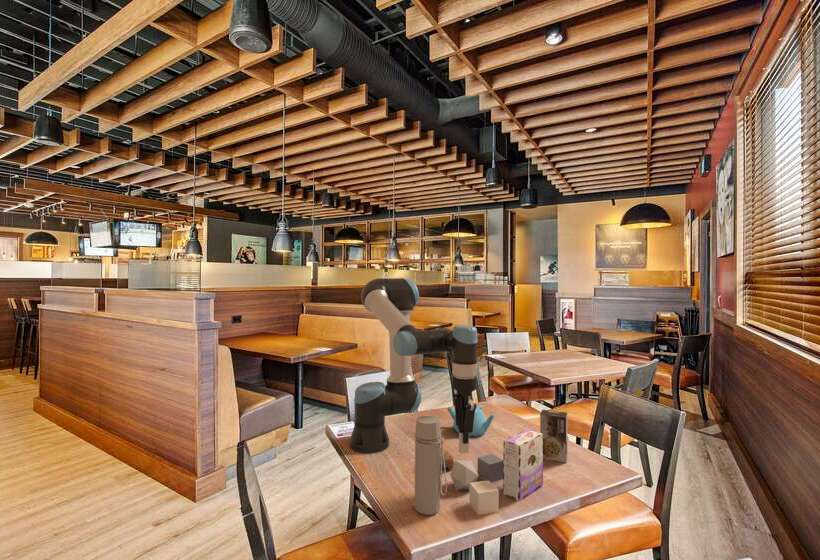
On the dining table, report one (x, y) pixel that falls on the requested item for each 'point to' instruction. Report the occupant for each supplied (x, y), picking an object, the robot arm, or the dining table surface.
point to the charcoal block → (490, 468)
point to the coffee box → (554, 435)
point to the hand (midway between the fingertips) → (463, 452)
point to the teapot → (475, 421)
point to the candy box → (522, 464)
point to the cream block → (484, 497)
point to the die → (463, 474)
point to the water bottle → (428, 465)
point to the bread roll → (446, 461)
